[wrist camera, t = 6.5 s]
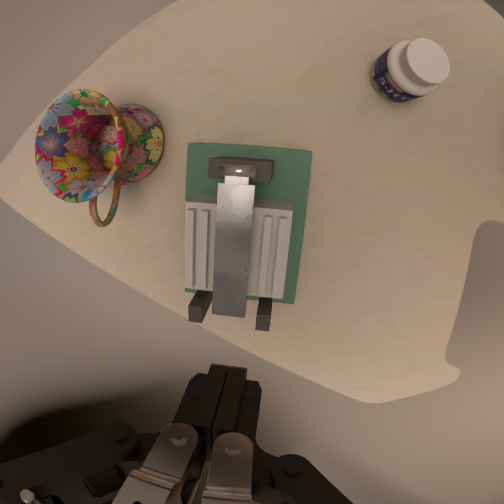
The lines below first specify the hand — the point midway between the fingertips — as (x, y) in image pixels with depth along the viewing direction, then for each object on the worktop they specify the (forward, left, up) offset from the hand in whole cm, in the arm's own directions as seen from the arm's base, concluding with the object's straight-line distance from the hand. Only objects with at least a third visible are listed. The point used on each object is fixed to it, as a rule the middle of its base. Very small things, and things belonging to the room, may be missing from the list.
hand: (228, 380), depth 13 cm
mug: (+15, -8, -22) cm, 28 cm away
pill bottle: (-12, -18, -22) cm, 31 cm away
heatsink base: (+2, -1, -22) cm, 22 cm away
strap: (+2, -2, -14) cm, 14 cm away
